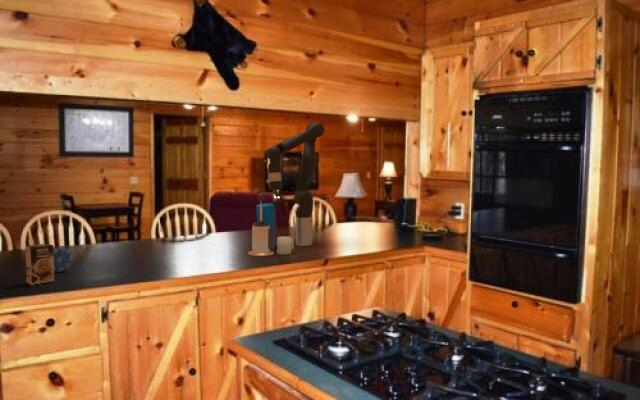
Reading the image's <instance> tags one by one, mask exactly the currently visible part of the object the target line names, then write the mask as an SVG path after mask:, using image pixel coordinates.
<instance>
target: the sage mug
mask: <svg viewBox="0 0 640 400" xmlns="http://www.w3.org/2000/svg"><path fill="white" fill-rule="evenodd" d="M294 243H295V242H294V239H293V238H292V236H289V235H288V236H284V235H282V236H280V235H279V236H277V247H276V254H277V255H291V254H292V250H294Z"/></svg>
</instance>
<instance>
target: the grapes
mask: <svg viewBox="0 0 640 400" xmlns="http://www.w3.org/2000/svg"><path fill="white" fill-rule="evenodd" d="M71 253H72V250H71V248H67V249H66V247H65V246H62V245H61V246H59V247H58V248H53V255H54V273H55V272H56V271H58V273H62V272H64V270H65V269H68V268H69V267H70V266H71V261H73V259H74V256H73V254H71ZM61 271H62V272H61Z"/></svg>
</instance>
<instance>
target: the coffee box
mask: <svg viewBox="0 0 640 400" xmlns="http://www.w3.org/2000/svg"><path fill="white" fill-rule="evenodd" d="M53 249H54V245H53V244H51V243H42V244H32V245H31V244H30V245H25V264H26V265H25V266H26V267H25V271H26V272H25V274H26V275H25V276H26V284H27V283H29V284H28V285H30V284H31V285H30V286H32V285H33V286H35V285H34V284H39V285H41V284H40V283H46V282H51V281H54V282H55V272H54V255H53ZM46 284H47V283H46Z"/></svg>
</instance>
